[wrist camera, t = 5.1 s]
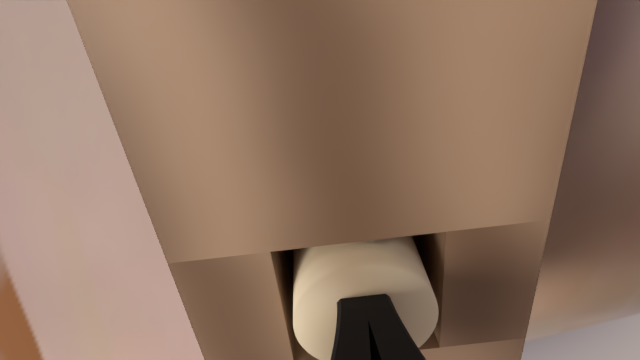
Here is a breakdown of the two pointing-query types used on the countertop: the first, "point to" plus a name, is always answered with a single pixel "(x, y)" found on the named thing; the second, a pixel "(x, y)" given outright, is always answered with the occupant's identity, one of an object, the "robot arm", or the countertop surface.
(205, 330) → the collar bar
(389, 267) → the peg
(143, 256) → the countertop surface
